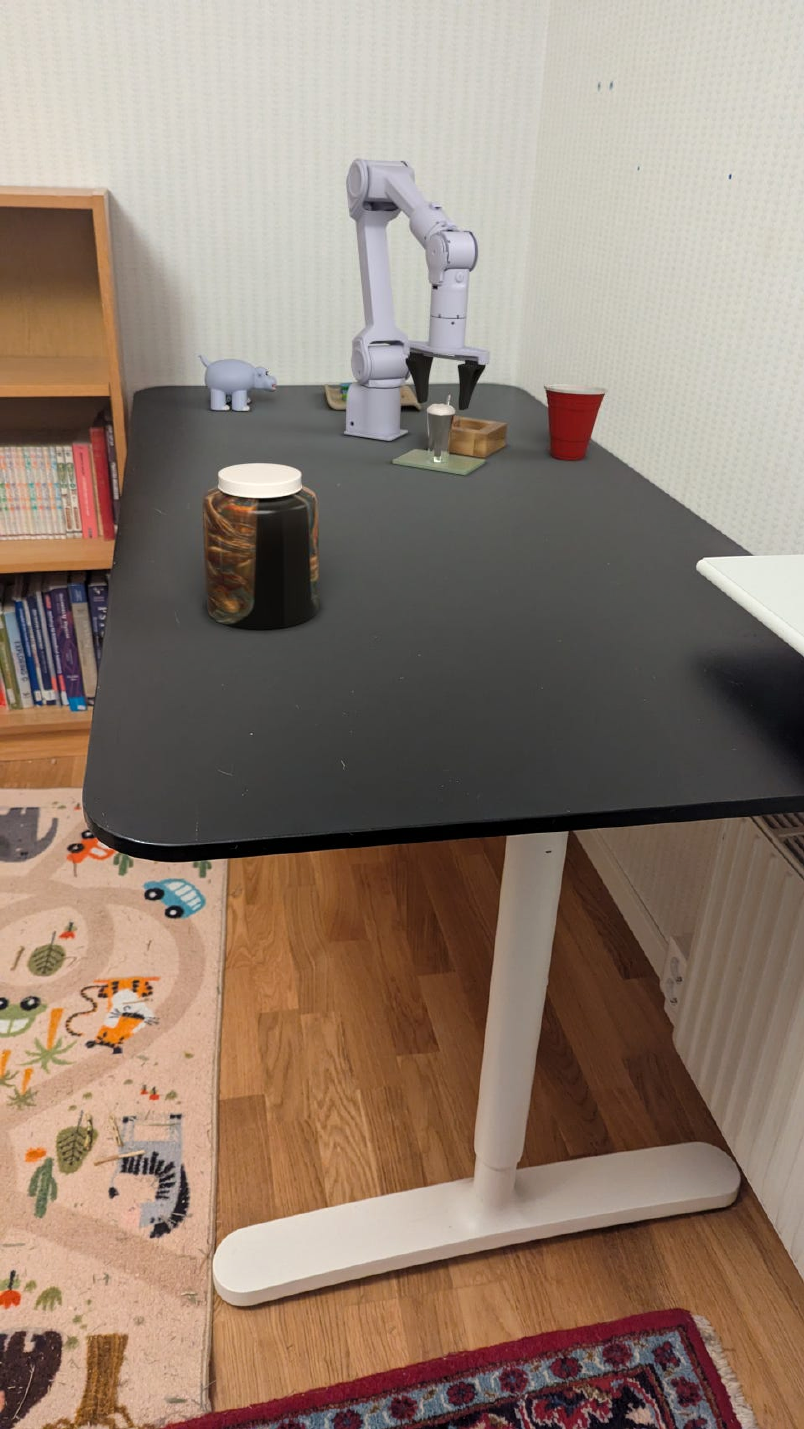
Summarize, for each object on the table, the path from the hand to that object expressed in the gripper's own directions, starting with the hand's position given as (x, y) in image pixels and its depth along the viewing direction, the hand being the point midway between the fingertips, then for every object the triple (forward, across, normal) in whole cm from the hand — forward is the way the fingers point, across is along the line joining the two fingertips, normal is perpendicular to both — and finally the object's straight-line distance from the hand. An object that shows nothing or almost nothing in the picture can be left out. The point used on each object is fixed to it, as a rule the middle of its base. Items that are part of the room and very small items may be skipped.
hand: (442, 405), depth 164 cm
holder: (+9, +1, -13) cm, 16 cm away
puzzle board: (+10, +35, -34) cm, 50 cm away
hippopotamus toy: (+10, +53, -13) cm, 55 cm away
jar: (+10, -15, +67) cm, 70 cm away
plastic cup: (+10, -15, -19) cm, 26 cm away
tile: (+9, 0, 0) cm, 9 cm away
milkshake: (+9, 0, 0) cm, 9 cm away
